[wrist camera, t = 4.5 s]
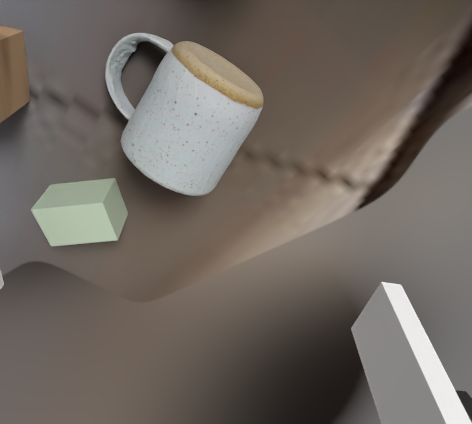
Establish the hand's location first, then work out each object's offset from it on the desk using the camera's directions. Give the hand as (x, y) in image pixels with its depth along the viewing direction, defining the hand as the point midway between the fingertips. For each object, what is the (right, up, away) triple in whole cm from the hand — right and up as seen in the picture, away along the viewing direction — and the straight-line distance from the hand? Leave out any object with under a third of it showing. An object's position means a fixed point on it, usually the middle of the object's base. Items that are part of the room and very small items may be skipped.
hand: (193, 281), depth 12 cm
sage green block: (-12, +4, +21) cm, 24 cm away
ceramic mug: (-3, +12, +15) cm, 19 cm away
